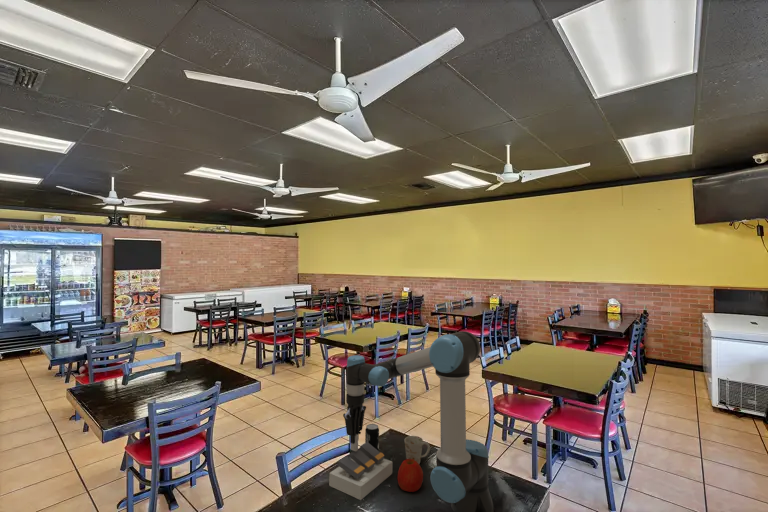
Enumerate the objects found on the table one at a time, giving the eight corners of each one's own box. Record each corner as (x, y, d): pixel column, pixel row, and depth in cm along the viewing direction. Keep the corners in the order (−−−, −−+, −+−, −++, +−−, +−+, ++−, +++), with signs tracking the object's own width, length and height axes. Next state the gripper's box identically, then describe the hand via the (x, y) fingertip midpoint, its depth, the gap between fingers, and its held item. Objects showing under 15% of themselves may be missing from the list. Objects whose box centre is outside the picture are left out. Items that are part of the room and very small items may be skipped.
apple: (424, 482, 149) (424, 455, 149) (420, 497, 139) (420, 469, 139) (400, 477, 151) (400, 452, 152) (394, 492, 141) (394, 464, 142)
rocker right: (383, 459, 155) (384, 455, 155) (377, 464, 152) (378, 459, 151) (365, 445, 161) (367, 441, 160) (359, 449, 157) (360, 445, 157)
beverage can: (377, 456, 169) (377, 429, 169) (363, 454, 170) (363, 428, 171) (380, 449, 175) (380, 424, 176) (367, 447, 177) (367, 422, 177)
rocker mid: (373, 467, 150) (375, 462, 149) (367, 472, 146) (368, 467, 145) (355, 452, 155) (357, 447, 155) (349, 456, 151) (350, 451, 151)
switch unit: (392, 473, 154) (392, 457, 155) (360, 500, 136) (360, 482, 137) (362, 462, 163) (362, 447, 164) (329, 485, 145) (329, 468, 146)
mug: (401, 459, 166) (401, 437, 166) (424, 454, 171) (424, 432, 171) (409, 468, 158) (410, 445, 159) (434, 462, 164) (434, 440, 164)
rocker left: (364, 473, 144) (365, 468, 143) (356, 479, 140) (357, 473, 140) (345, 460, 149) (346, 455, 149) (337, 465, 145) (338, 460, 145)
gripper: (357, 387, 161) (357, 441, 160) (338, 395, 150) (337, 453, 149) (371, 390, 157) (370, 446, 156) (352, 399, 146) (351, 459, 145)
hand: (354, 449), depth 153 cm, fingers closed
